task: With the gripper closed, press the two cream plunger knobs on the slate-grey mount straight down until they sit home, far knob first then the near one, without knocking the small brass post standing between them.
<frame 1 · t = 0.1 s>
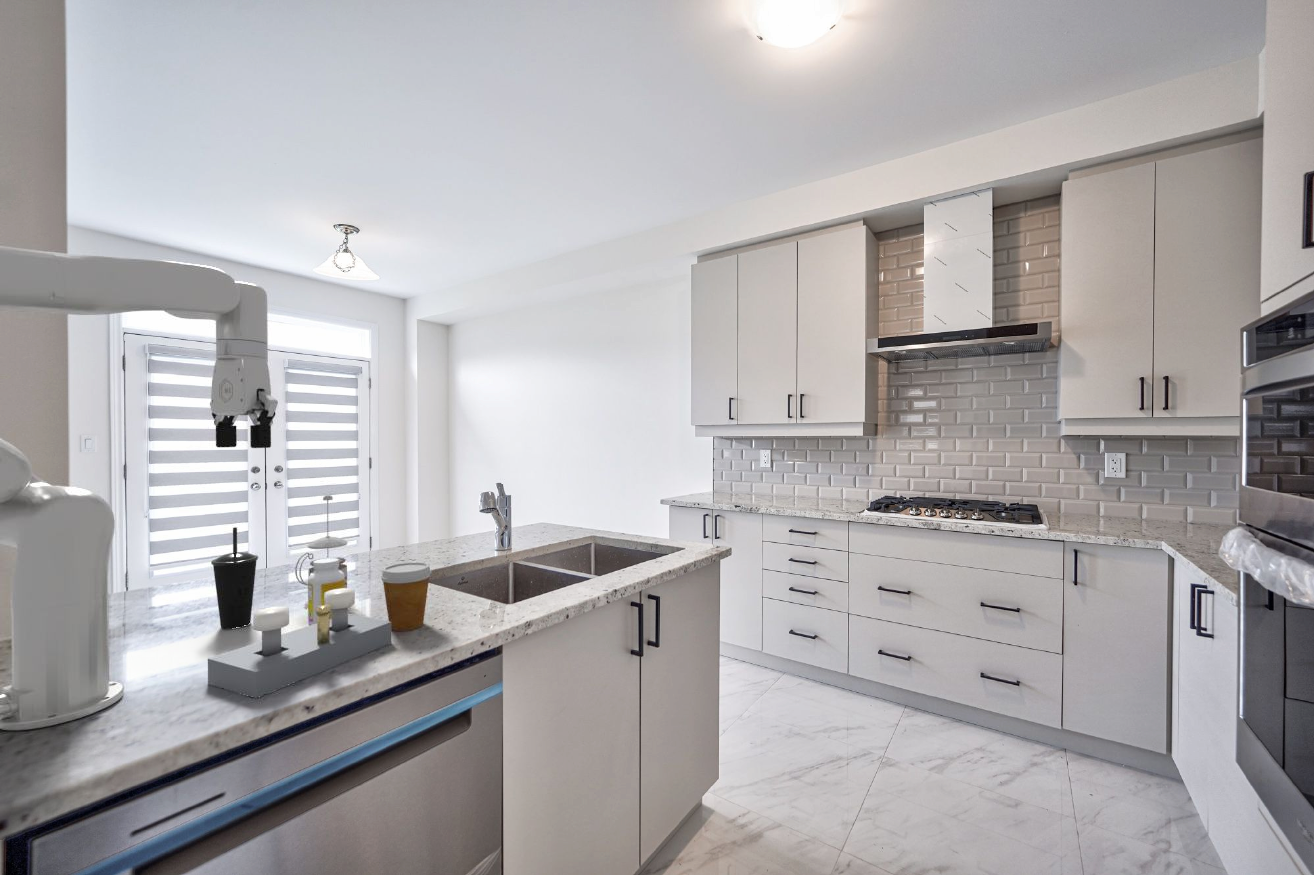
hand: (243, 447, 102), 37 cm above the countertop, tool pointing down, fingers open, 9 cm apart
drinking cup: (235, 626, 115), on the countertop
brass post: (323, 642, 95), point 4 cm above the countertop, touching mount
knob far: (339, 610, 102), point 7 cm above the countertop, slide at 0.0 cm
supplement bottle: (326, 622, 117), on the countertop
knob near: (271, 631, 91), point 7 cm above the countertop, slide at 0.0 cm
mount: (307, 661, 97), on the countertop
french press: (324, 604, 129), on the countertop
disposable coffee cup: (406, 626, 114), on the countertop
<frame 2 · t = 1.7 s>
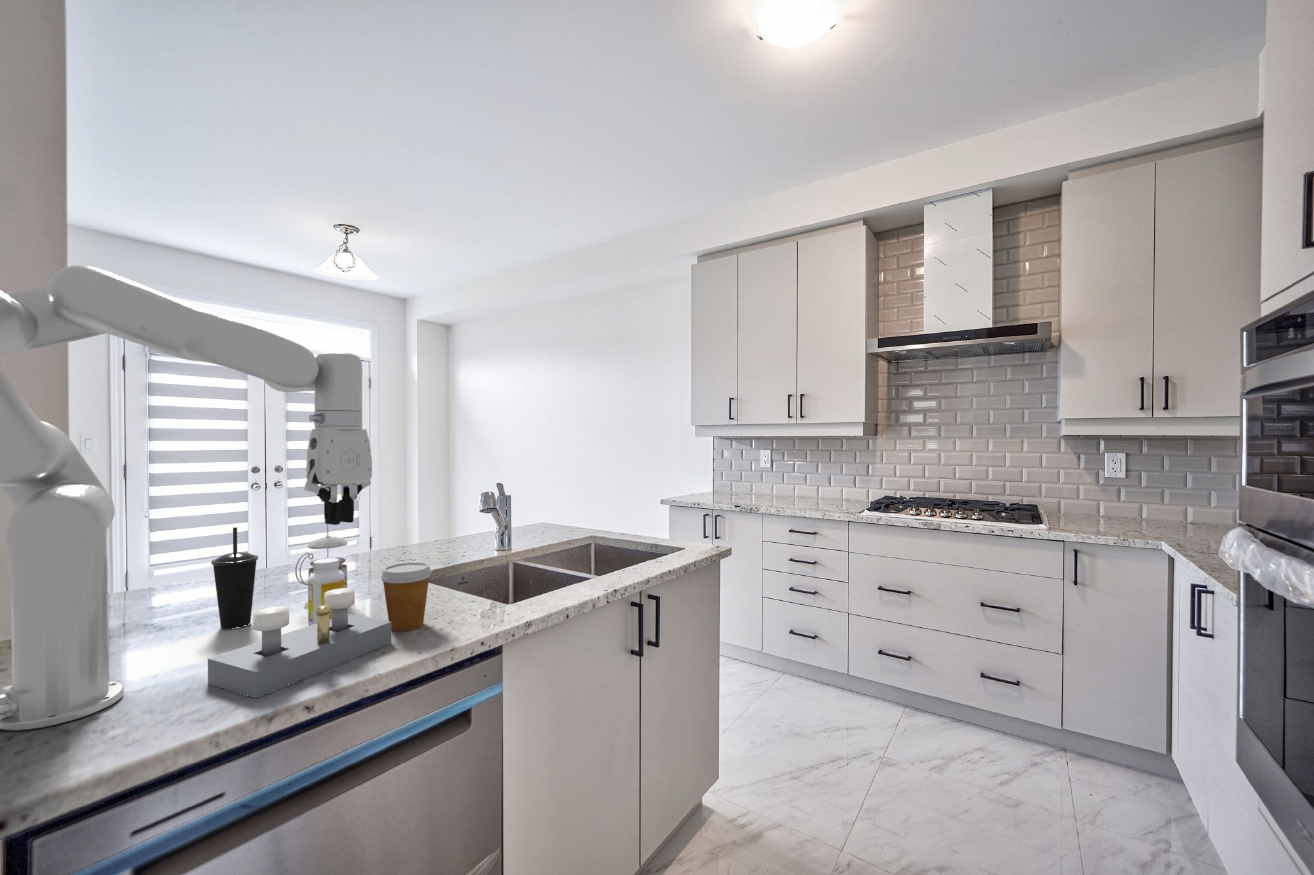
hand: (339, 522, 102), 23 cm above the countertop, tool pointing down, fingers closed
nothing on the countertop moved.
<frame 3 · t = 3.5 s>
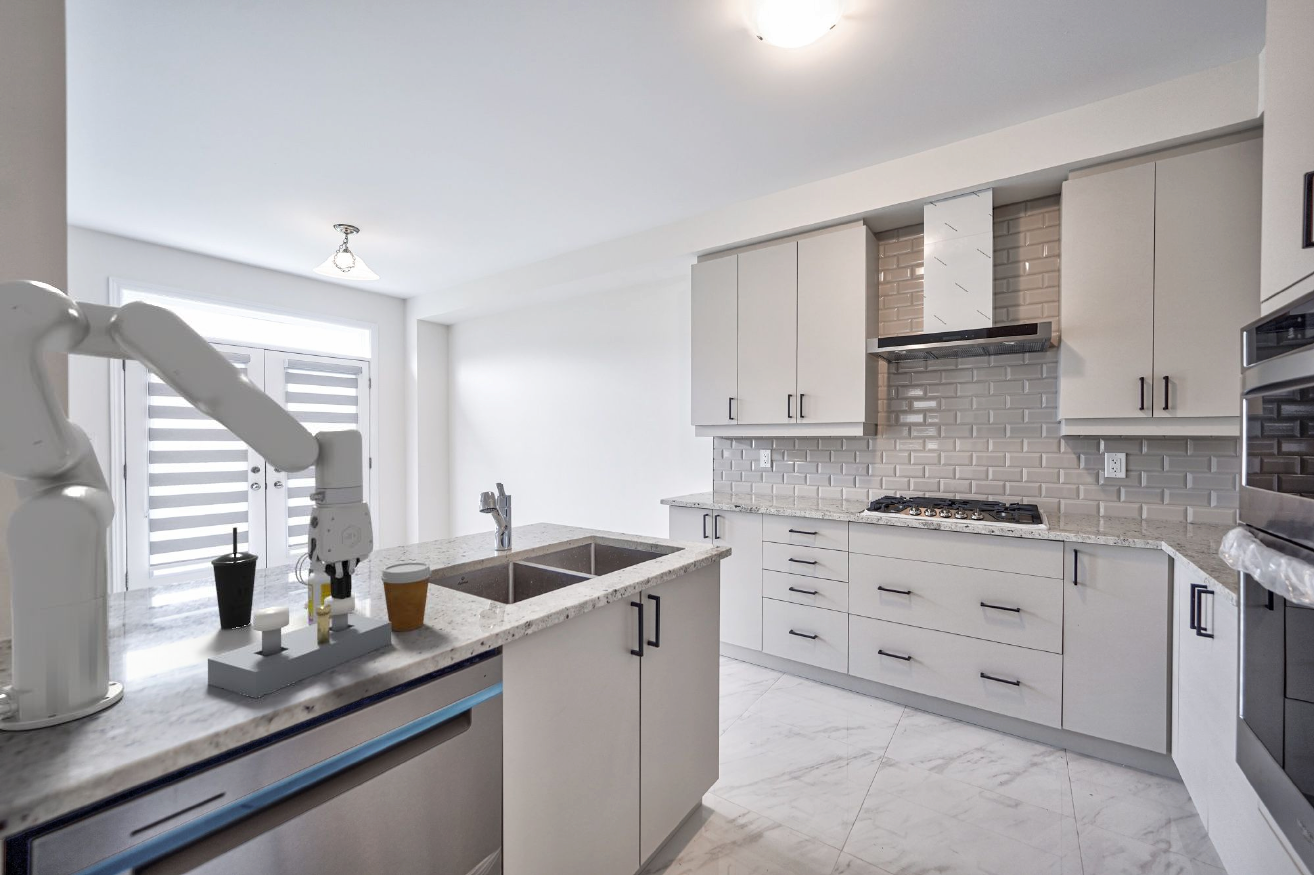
hand: (341, 597, 102), 9 cm above the countertop, tool pointing down, fingers closed
knob far: (339, 616, 102), point 6 cm above the countertop, slide at 1.1 cm, touching gripper
everything else where it was.
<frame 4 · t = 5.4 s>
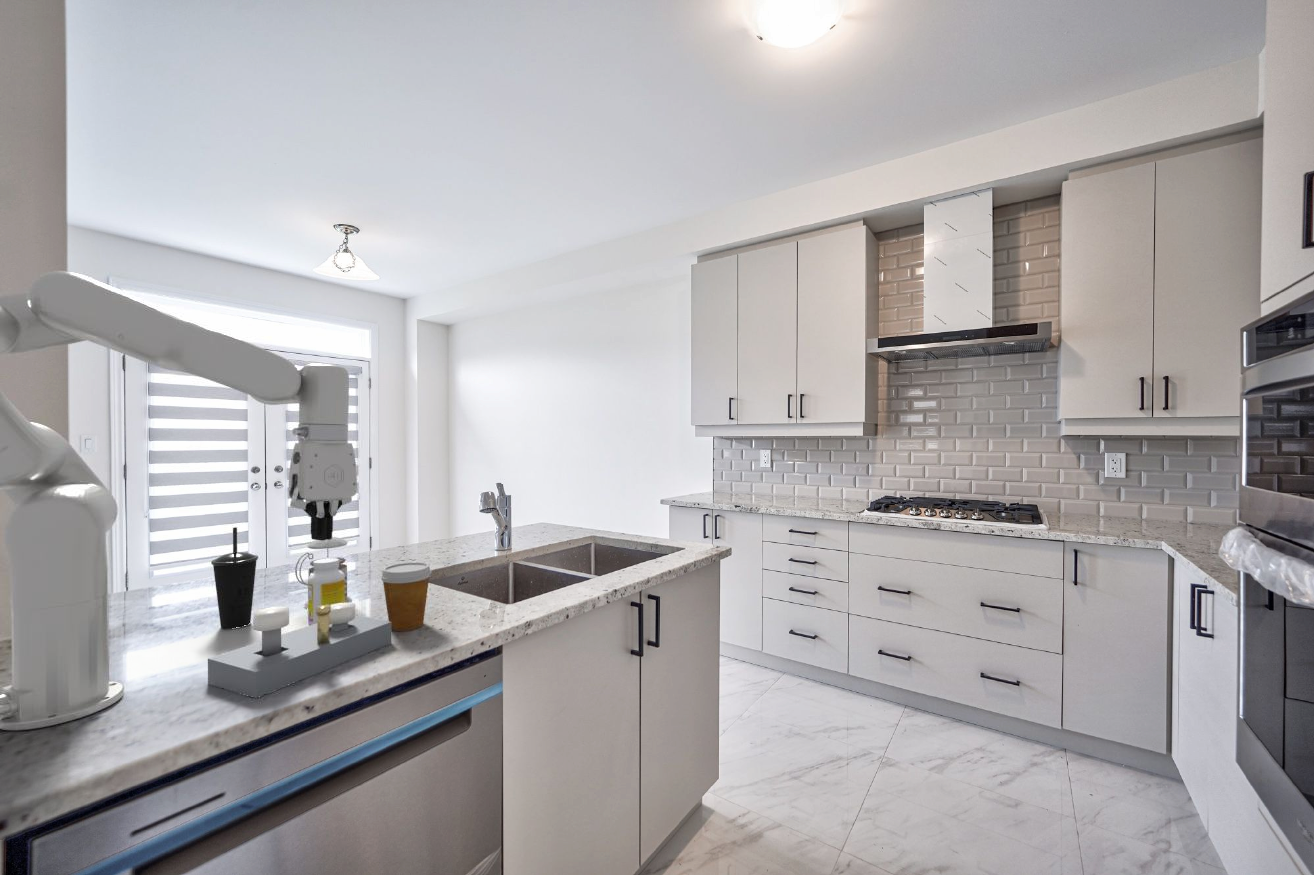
hand: (321, 539, 99), 21 cm above the countertop, tool pointing down, fingers closed
knob far: (339, 625, 102), point 4 cm above the countertop, slide at 2.7 cm
everything else where it was.
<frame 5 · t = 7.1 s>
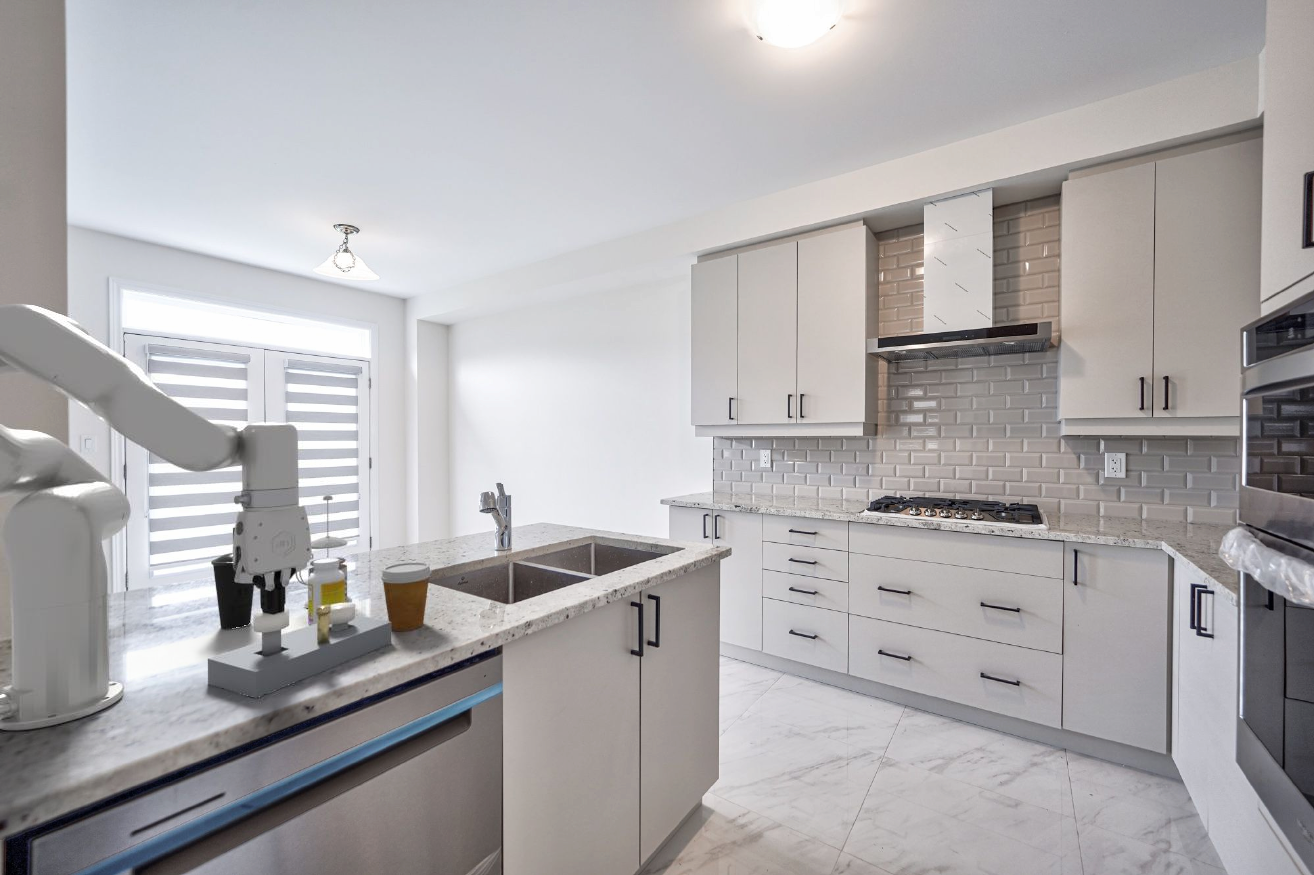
hand: (273, 611, 91), 10 cm above the countertop, tool pointing down, fingers closed
knob near: (271, 633, 91), point 7 cm above the countertop, slide at 0.2 cm, touching gripper
everything else where it was.
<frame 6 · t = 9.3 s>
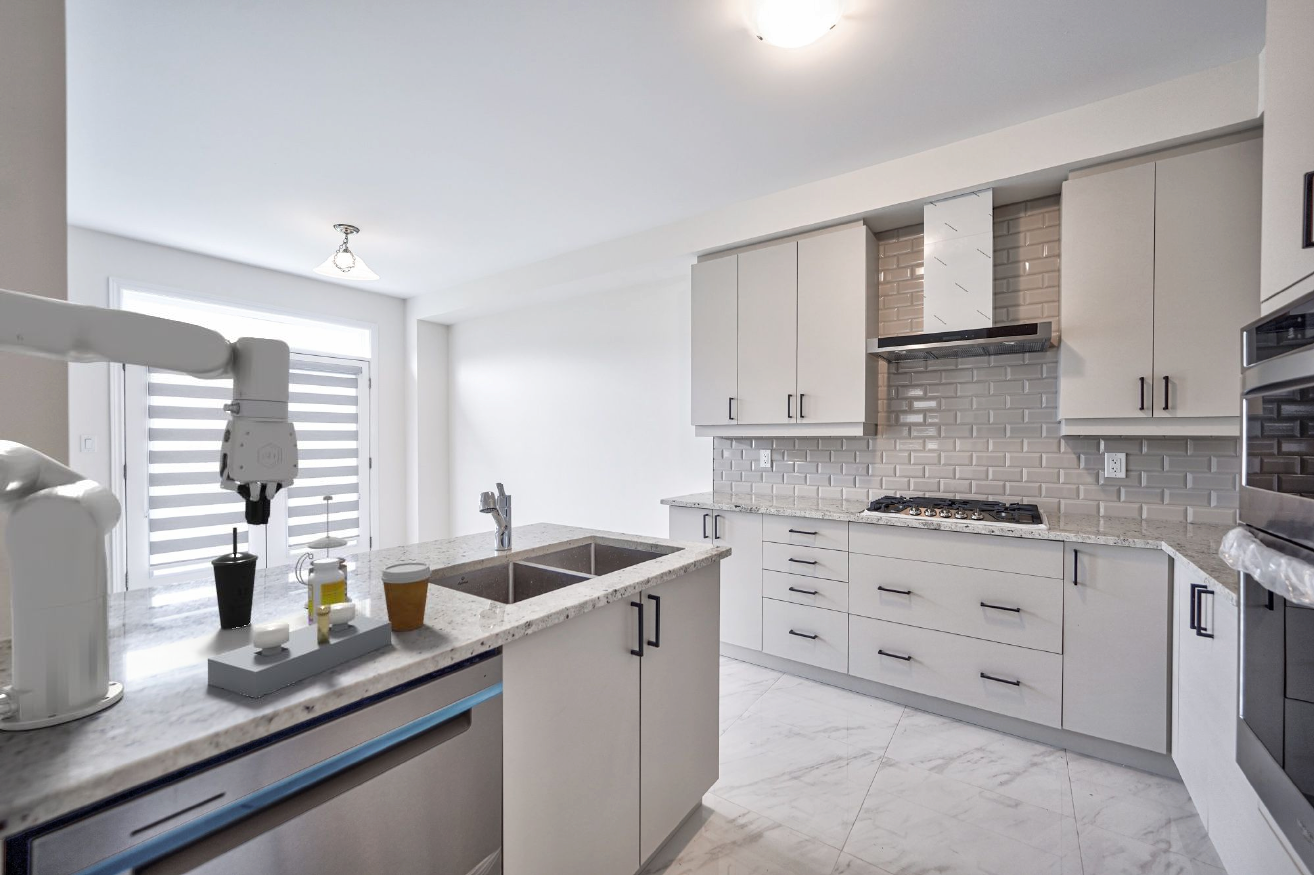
hand: (257, 523, 92), 24 cm above the countertop, tool pointing down, fingers closed
knob near: (271, 648, 91), point 4 cm above the countertop, slide at 2.7 cm
everything else where it was.
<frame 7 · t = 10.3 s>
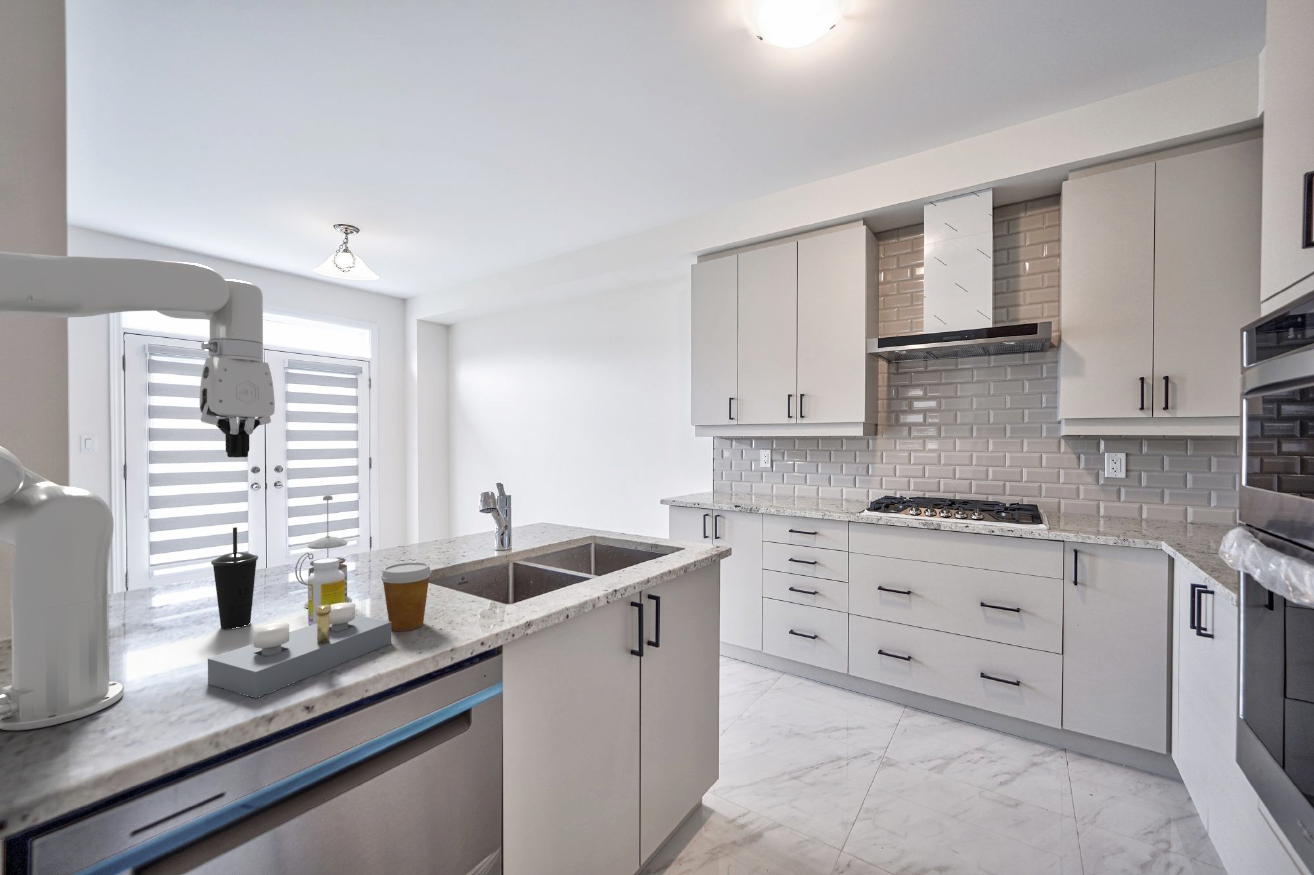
hand: (237, 456, 99), 35 cm above the countertop, tool pointing down, fingers closed
nothing on the countertop moved.
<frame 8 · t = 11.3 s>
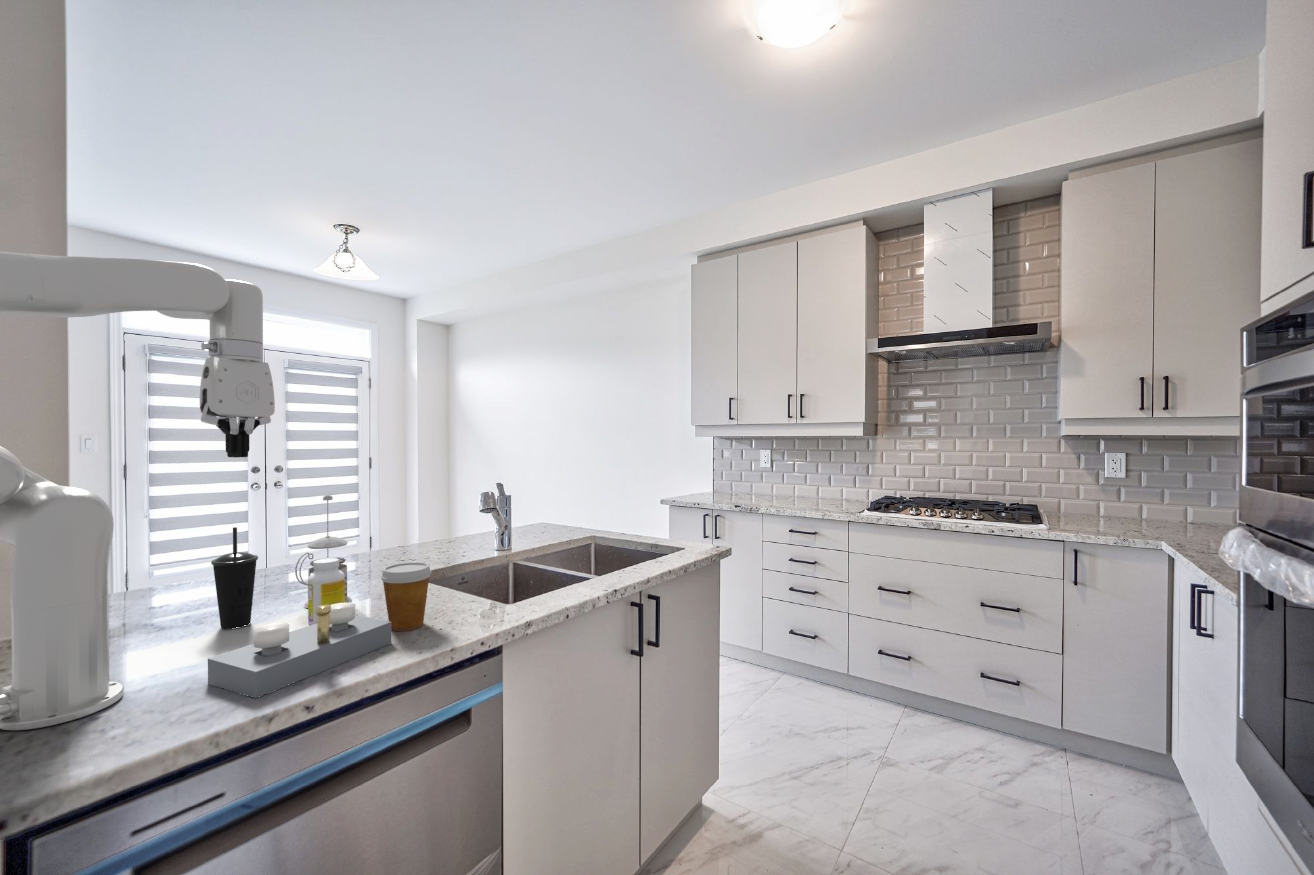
hand: (237, 456, 99), 35 cm above the countertop, tool pointing down, fingers closed
nothing on the countertop moved.
at the end: knob far slide at 2.7 cm; knob near slide at 2.7 cm; brass post moved 0.0 cm from its start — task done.
